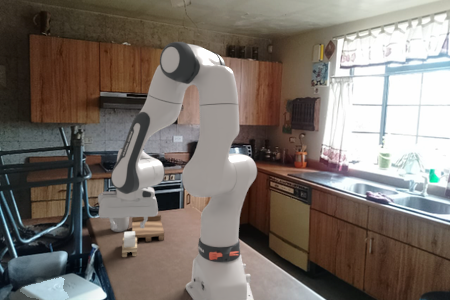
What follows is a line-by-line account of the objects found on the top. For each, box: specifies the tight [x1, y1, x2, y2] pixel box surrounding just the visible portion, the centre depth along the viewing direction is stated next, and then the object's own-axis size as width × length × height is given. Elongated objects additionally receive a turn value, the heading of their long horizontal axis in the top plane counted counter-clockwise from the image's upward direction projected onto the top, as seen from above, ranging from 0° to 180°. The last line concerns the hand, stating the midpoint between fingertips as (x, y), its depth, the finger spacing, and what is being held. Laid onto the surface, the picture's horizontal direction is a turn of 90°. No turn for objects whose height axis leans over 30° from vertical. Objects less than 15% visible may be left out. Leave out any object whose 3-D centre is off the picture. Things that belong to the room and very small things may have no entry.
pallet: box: [121, 237, 138, 258], centre depth 119 cm, size 10×5×3 cm, turn 16°
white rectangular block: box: [123, 230, 135, 247], centre depth 119 cm, size 7×4×3 cm, turn 16°
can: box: [109, 217, 130, 233], centre depth 139 cm, size 8×8×12 cm
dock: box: [131, 214, 165, 243], centre depth 135 cm, size 16×12×5 cm
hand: (128, 228), depth 119 cm, fingers open, 8 cm apart
